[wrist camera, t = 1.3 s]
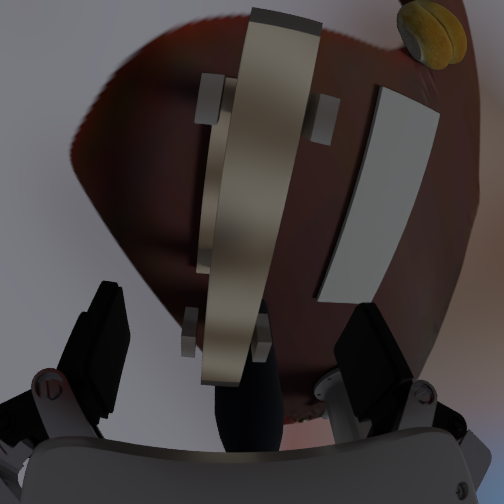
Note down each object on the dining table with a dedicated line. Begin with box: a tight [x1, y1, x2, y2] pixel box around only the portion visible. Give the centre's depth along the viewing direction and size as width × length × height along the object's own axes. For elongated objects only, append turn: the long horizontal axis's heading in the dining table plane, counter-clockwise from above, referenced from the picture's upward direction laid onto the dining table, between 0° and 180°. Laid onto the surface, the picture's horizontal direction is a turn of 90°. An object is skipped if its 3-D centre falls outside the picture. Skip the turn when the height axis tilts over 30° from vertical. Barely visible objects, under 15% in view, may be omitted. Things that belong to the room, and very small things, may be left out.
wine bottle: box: [215, 299, 284, 453], centre depth 22 cm, size 6×6×30 cm
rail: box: [201, 7, 323, 387], centre depth 17 cm, size 26×3×3 cm, turn 170°
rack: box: [181, 73, 340, 362], centre depth 21 cm, size 20×6×13 cm, turn 170°
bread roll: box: [397, 0, 467, 70], centre depth 16 cm, size 8×9×4 cm
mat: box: [316, 87, 440, 303], centre depth 28 cm, size 26×8×1 cm, turn 170°
